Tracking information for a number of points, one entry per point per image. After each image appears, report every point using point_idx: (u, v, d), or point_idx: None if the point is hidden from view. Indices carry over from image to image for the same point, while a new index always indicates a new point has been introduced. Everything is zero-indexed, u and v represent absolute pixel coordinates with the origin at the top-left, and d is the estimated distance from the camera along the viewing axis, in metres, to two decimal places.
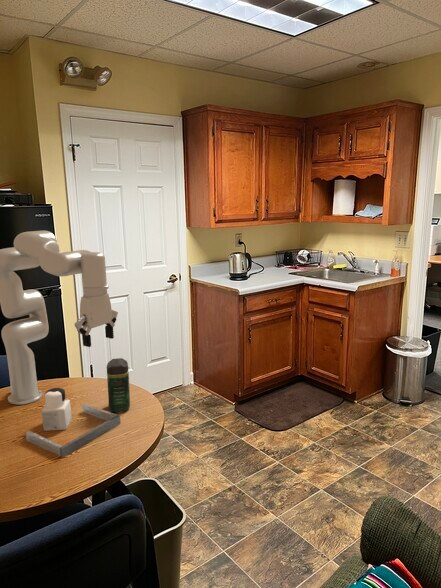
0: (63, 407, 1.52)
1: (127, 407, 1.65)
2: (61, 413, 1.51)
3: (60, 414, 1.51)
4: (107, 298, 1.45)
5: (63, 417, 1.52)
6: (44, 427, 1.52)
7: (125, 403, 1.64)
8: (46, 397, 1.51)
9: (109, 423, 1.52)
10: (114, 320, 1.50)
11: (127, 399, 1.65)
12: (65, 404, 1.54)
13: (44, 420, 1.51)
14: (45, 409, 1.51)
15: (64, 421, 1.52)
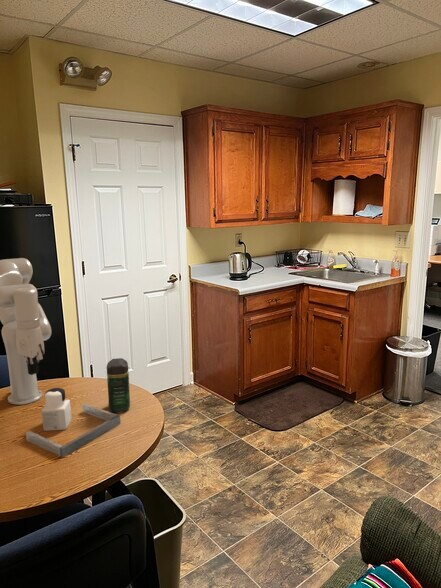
0: (63, 407, 1.52)
1: (127, 407, 1.65)
2: (61, 413, 1.51)
3: (60, 414, 1.51)
4: None
5: (63, 417, 1.52)
6: (44, 427, 1.52)
7: (125, 403, 1.64)
8: (46, 397, 1.51)
9: (109, 423, 1.52)
10: None
11: (127, 399, 1.65)
12: (65, 404, 1.54)
13: (44, 420, 1.51)
14: (45, 409, 1.51)
15: (64, 421, 1.52)
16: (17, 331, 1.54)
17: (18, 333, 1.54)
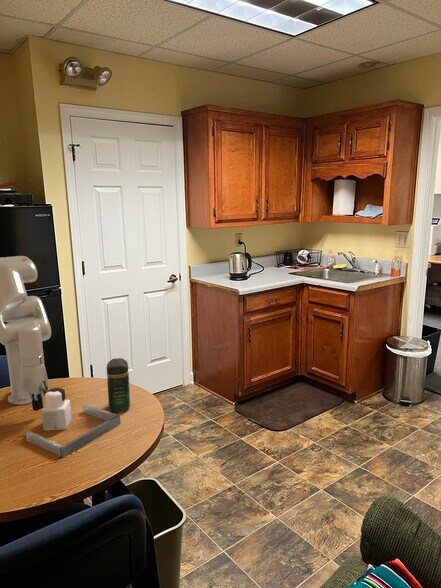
0: (63, 407, 1.52)
1: (127, 407, 1.65)
2: (61, 413, 1.51)
3: (60, 414, 1.51)
4: None
5: (63, 417, 1.52)
6: (44, 427, 1.52)
7: (125, 403, 1.64)
8: (46, 397, 1.51)
9: (109, 423, 1.52)
10: None
11: (127, 399, 1.65)
12: (65, 404, 1.54)
13: (44, 420, 1.51)
14: (45, 409, 1.51)
15: (64, 421, 1.52)
16: (21, 368, 1.57)
17: (22, 370, 1.57)
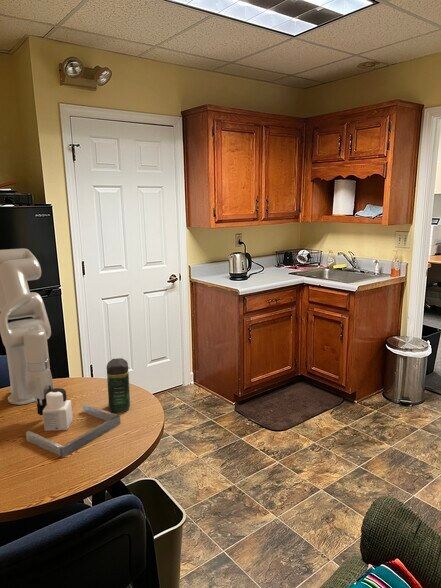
0: (64, 407, 1.52)
1: (127, 407, 1.65)
2: (62, 413, 1.51)
3: (61, 414, 1.51)
4: None
5: (64, 417, 1.51)
6: (45, 427, 1.52)
7: (125, 403, 1.64)
8: (47, 397, 1.51)
9: (109, 423, 1.52)
10: None
11: (127, 399, 1.65)
12: (66, 404, 1.54)
13: (45, 420, 1.51)
14: (46, 409, 1.51)
15: (65, 421, 1.52)
16: (27, 372, 1.56)
17: (28, 374, 1.55)
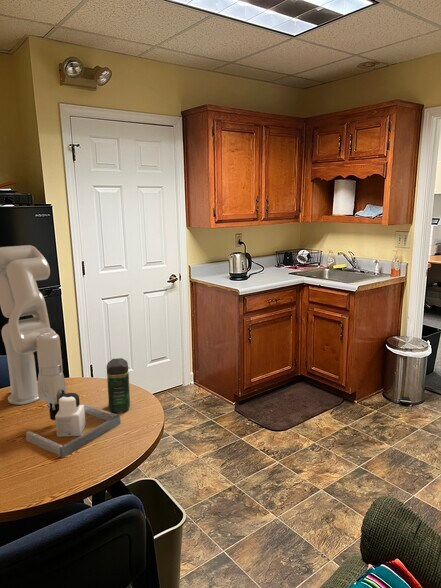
0: (77, 413, 1.48)
1: (127, 407, 1.65)
2: (75, 419, 1.47)
3: (74, 420, 1.47)
4: None
5: (77, 423, 1.47)
6: (58, 433, 1.48)
7: (125, 403, 1.64)
8: (60, 402, 1.47)
9: (109, 423, 1.52)
10: None
11: (127, 399, 1.65)
12: (79, 410, 1.50)
13: (58, 426, 1.47)
14: (59, 415, 1.47)
15: (78, 427, 1.48)
16: (39, 377, 1.52)
17: (40, 379, 1.52)
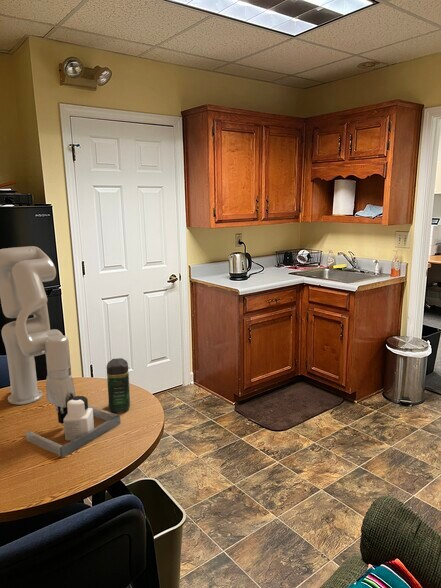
0: (86, 416, 1.46)
1: (127, 407, 1.65)
2: (84, 422, 1.45)
3: (82, 423, 1.45)
4: None
5: (85, 427, 1.45)
6: (66, 437, 1.46)
7: (125, 403, 1.64)
8: (68, 405, 1.45)
9: (109, 423, 1.52)
10: None
11: (127, 399, 1.65)
12: (88, 413, 1.48)
13: (66, 429, 1.45)
14: (67, 418, 1.45)
15: (86, 431, 1.45)
16: (48, 379, 1.50)
17: (49, 382, 1.49)
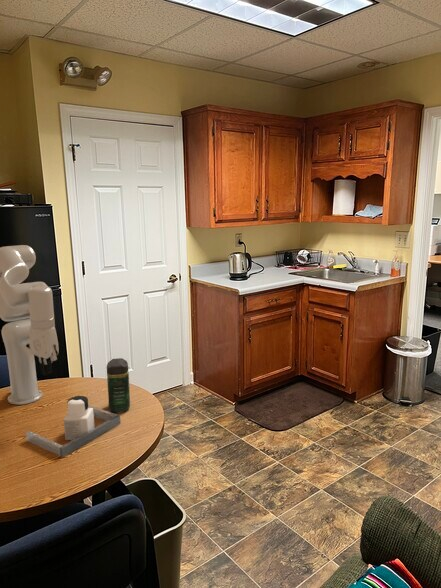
0: (86, 416, 1.46)
1: (127, 407, 1.65)
2: (84, 422, 1.45)
3: (82, 423, 1.45)
4: None
5: (85, 427, 1.45)
6: (66, 436, 1.46)
7: (125, 403, 1.64)
8: (68, 405, 1.45)
9: (109, 423, 1.52)
10: None
11: (127, 399, 1.65)
12: (88, 413, 1.48)
13: (66, 429, 1.45)
14: (67, 418, 1.45)
15: (86, 431, 1.45)
16: (31, 330, 1.50)
17: (32, 333, 1.50)
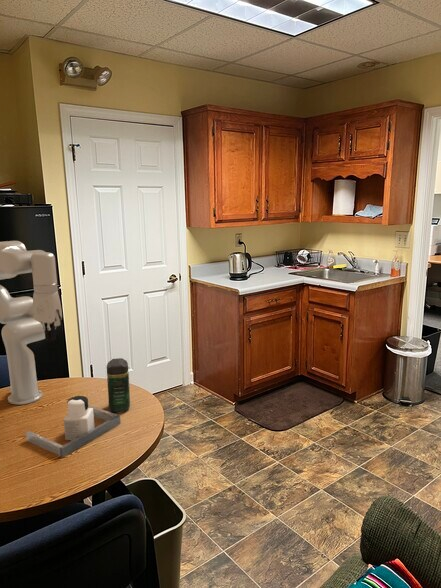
0: (86, 416, 1.46)
1: (127, 407, 1.65)
2: (84, 422, 1.45)
3: (82, 423, 1.45)
4: None
5: (85, 427, 1.45)
6: (66, 436, 1.46)
7: (125, 403, 1.64)
8: (68, 405, 1.45)
9: (109, 423, 1.52)
10: None
11: (127, 399, 1.65)
12: (88, 413, 1.48)
13: (66, 429, 1.45)
14: (67, 418, 1.45)
15: (86, 431, 1.45)
16: (34, 296, 1.52)
17: (35, 298, 1.51)
